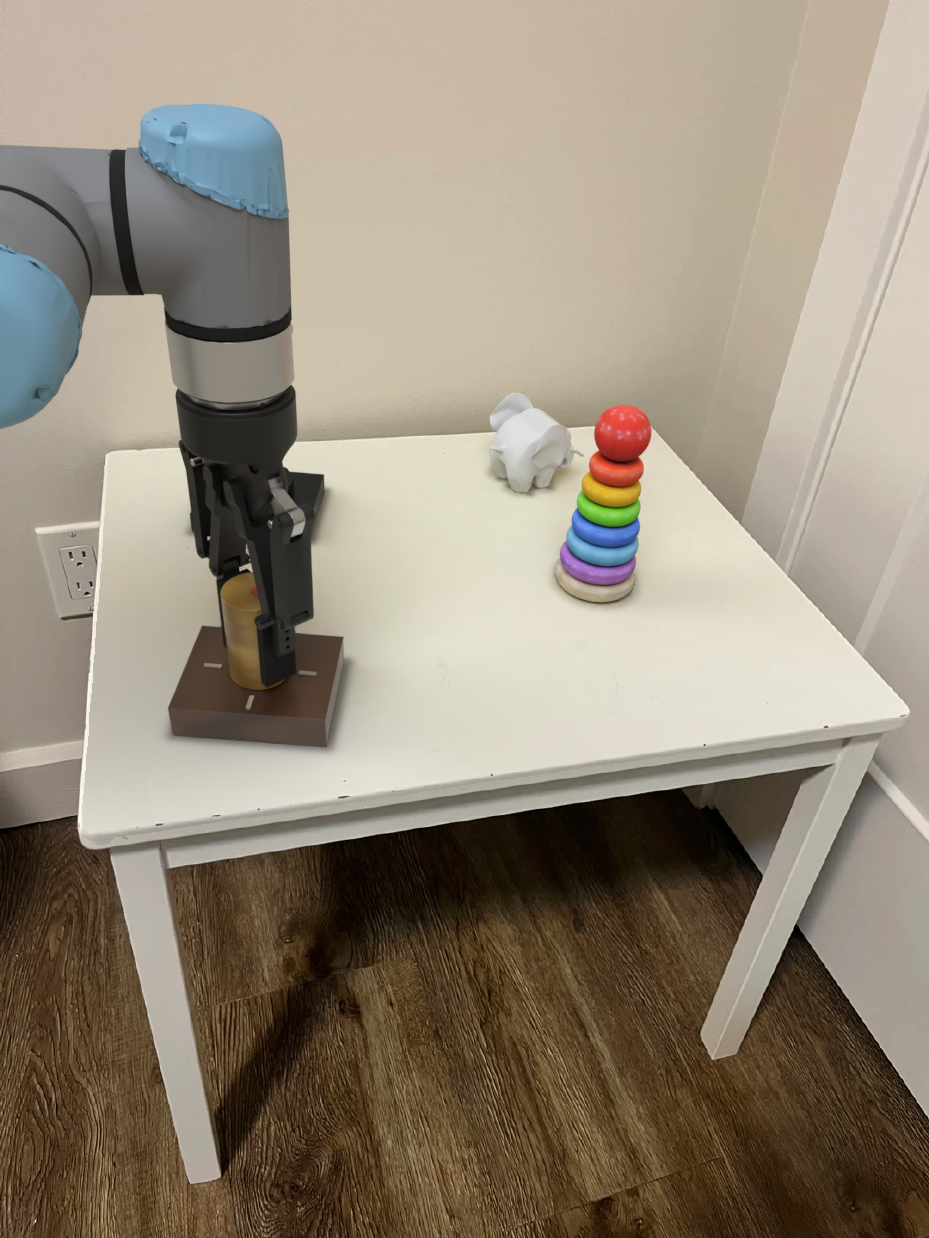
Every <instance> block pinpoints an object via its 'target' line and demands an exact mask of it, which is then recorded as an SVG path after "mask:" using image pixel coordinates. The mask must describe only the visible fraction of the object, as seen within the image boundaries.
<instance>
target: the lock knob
mask: <svg viewBox="0 0 929 1238" xmlns="http://www.w3.org/2000/svg"><path fill="white" fill-rule="evenodd" d="M221 602H222V611H223V619H224V628H225V636H226V645H227V654H228V662H229V671H230V676H231V678H232V680H233V681H234V682H235V683H236V684H238V685H239V686H241V687H243V688H246V689H251V690H264V689H269V688H272V687H275V686H277V685H279V684H281V683H282V682H283V681H284V680H285V679H284V680H282V681H280V682H278V683H276V684H274V685H272V686H270V687H268V688H266V687H265V686H264V685H263V684H262V683H261V672H260V661H259V649H258V638H257V626H256V625H255V623H254V619H256V617H257V616H260V615H262V611H261V607H260V602H259V598H258V593H257V589H256V584H255V580H254V575H253V571H250V573H244V574H240V575H237V576H235V577H233V578H231V579H229V580H228V581H227V582H226V583H225V584H224V585H223V587H222V589H221Z"/></svg>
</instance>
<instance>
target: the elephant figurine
mask: <svg viewBox="0 0 929 1238" xmlns="http://www.w3.org/2000/svg"><path fill="white" fill-rule="evenodd" d="M489 423H490V428H491V430H493V431H494V432H495V435H494V437H493V440H492V442H491V445H490V448H489V462H490V465H491V468H492V470H493V472H494V474H495V475H496V476H497V477H498V478H501V479H507V481H508V483H509V486H510V488H511V490H513V491H514V492H516V493H519V494H520V493H522V494H523V493H524V494H526V493H528V492H529V491H530V489H531V487H532V484H533V485H534V486H535V487H537V488H538V489H542V488H547V487H549V485H550V484H551V482H552V479H553V476H554V474H555V472H556V470H557V469H558V470H559V471H564V470H566V469H568V468H569V467H570V465H571V464H572V462H573V460H574V457H575V454H576V455H578V456H580V457H581V458H583V457H584V458H585V457H586V456H585V454H584V453H582V452H581V451H580V450H578V449H577V448H575V447H574V446H573V445H572V434H571V432H570V431H569V430H568V428H567V427H566V426H565V425H562V424H560V423H559V422H558V421H557V420H556V419H554V418H553V417H551V416H550V414H549V413H548V414H547V412H546V411H544V410H543V409H541V408H538V407H534V405H533V404H532V402H531V400H530V398H528V397H527V396H526V395H524V394H522V393H520V392H515V391H513V392H511V393H509V394H507V395H506V396H505V397H504V398H503V399H502V400H501V401H500V402H499V403H498V405H496V407H495V408H494V410H493V411H492V412H491V414H490V415H489Z"/></svg>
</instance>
